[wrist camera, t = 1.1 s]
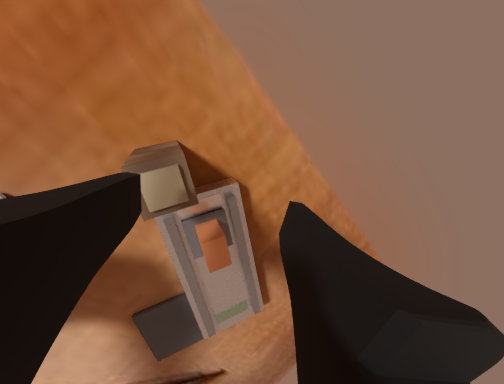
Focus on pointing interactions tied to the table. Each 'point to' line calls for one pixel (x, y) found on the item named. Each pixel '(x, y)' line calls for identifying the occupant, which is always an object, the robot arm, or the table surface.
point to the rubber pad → (168, 326)
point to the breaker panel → (223, 280)
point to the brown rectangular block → (162, 179)
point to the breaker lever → (210, 239)
